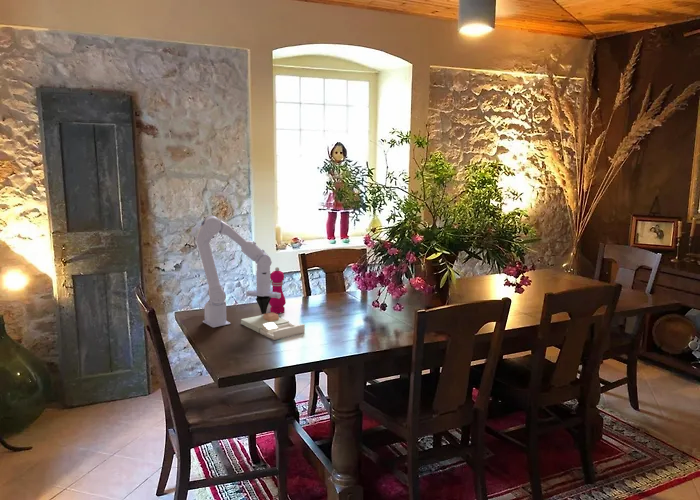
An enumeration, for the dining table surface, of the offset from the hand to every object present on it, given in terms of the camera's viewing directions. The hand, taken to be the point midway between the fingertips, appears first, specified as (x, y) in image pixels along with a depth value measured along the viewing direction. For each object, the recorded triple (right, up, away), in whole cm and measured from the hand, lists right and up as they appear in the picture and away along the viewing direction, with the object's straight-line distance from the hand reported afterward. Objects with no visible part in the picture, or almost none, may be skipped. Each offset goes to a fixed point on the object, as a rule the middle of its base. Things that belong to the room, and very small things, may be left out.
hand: (263, 313), depth 235 cm
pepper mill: (+4, -1, +13) cm, 14 cm away
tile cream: (+5, -5, -15) cm, 17 cm away
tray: (+10, -6, -15) cm, 19 cm away
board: (+1, -4, -6) cm, 7 cm away
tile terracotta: (+4, -2, -4) cm, 6 cm away
